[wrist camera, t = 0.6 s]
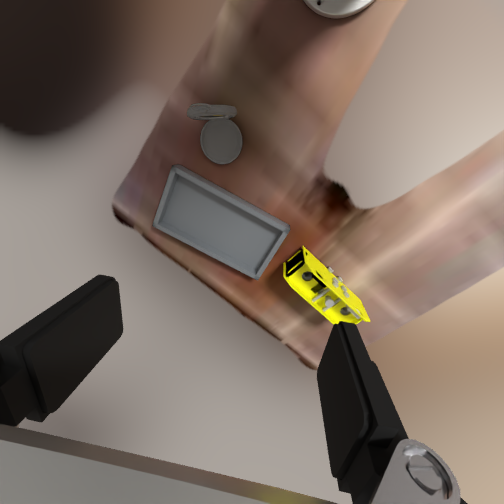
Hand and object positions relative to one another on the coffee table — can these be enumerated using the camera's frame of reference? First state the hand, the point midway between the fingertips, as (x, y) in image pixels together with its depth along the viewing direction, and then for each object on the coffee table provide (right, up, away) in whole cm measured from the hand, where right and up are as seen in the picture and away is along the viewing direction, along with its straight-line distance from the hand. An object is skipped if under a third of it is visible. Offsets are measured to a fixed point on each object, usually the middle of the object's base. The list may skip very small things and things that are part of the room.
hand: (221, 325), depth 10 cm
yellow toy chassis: (+15, -2, +36) cm, 39 cm away
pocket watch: (-3, +22, +27) cm, 35 cm away
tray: (-4, +8, +33) cm, 34 cm away
